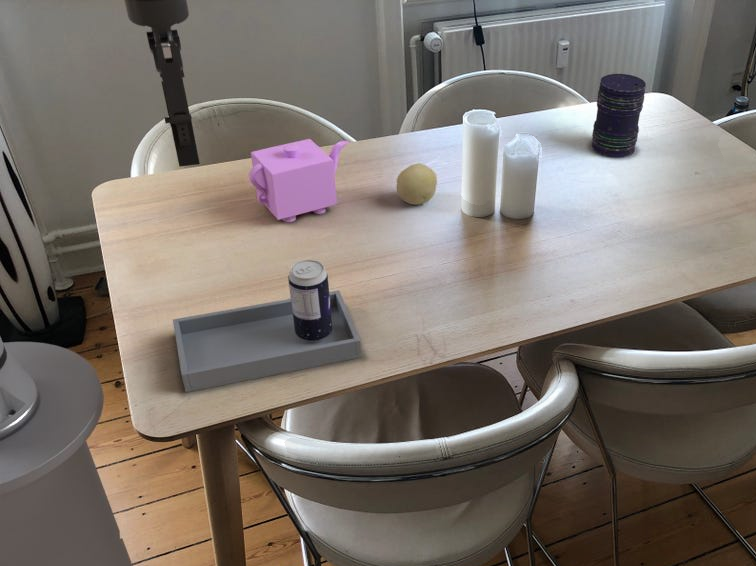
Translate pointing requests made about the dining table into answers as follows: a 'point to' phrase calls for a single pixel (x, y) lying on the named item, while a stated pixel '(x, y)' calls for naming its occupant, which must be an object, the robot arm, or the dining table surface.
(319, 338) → the beverage can
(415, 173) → the potato
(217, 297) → the dining table surface
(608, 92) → the dark blue cylinder
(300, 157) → the teapot
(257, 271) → the dining table surface
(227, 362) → the tray
